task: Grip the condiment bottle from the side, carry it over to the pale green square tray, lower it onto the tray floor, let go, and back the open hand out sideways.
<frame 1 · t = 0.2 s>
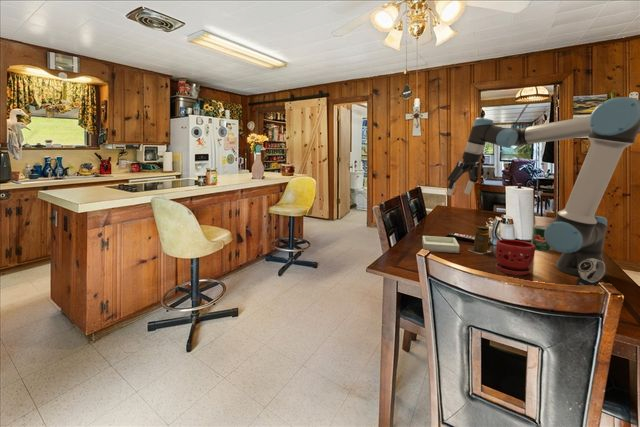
hand: (458, 194, 156), 27 cm above the table, tool tilted 15°, fingers open, 13 cm apart
canned tomato: (539, 249, 157), on the table
plant pot: (512, 271, 127), on the table
watch: (588, 290, 109), on the table
condiment: (479, 251, 153), on the table
pale green square tray: (439, 247, 160), on the table
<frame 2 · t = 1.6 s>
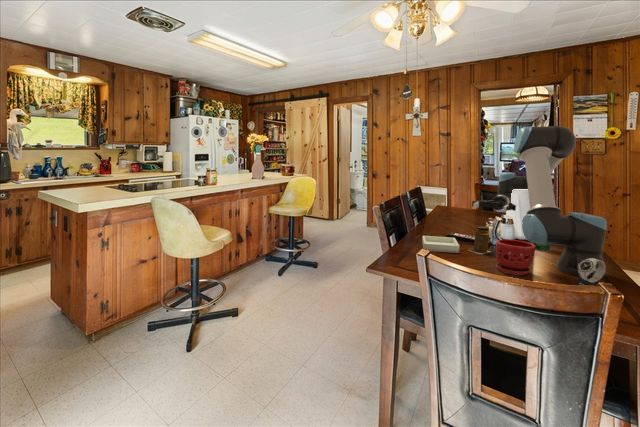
hand: (488, 207, 156), 20 cm above the table, tool horizontal, fingers open, 13 cm apart
nothing on the table moved.
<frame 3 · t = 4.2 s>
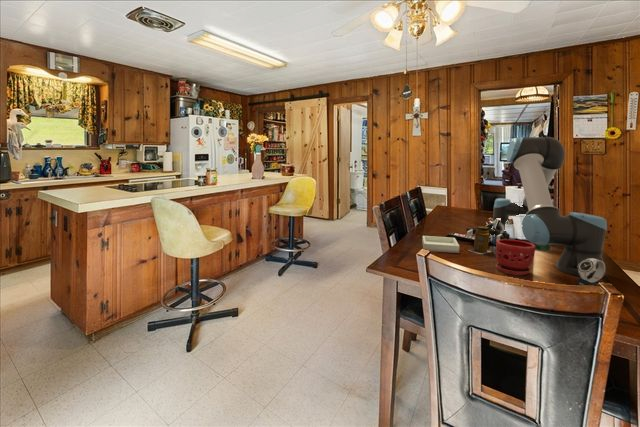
hand: (482, 236, 155), 6 cm above the table, tool horizontal, fingers open, 13 cm apart
nothing on the table moved.
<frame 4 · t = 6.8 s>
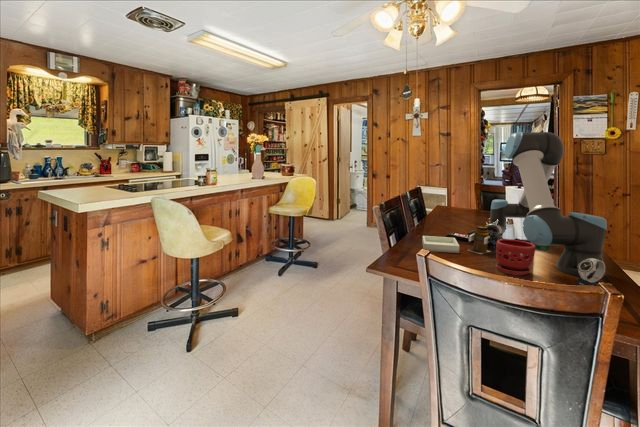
hand: (477, 239, 148), 7 cm above the table, tool horizontal, fingers closed on condiment, 6 cm apart
condiment: (478, 251, 153), on the table, touching gripper
everything else where it was.
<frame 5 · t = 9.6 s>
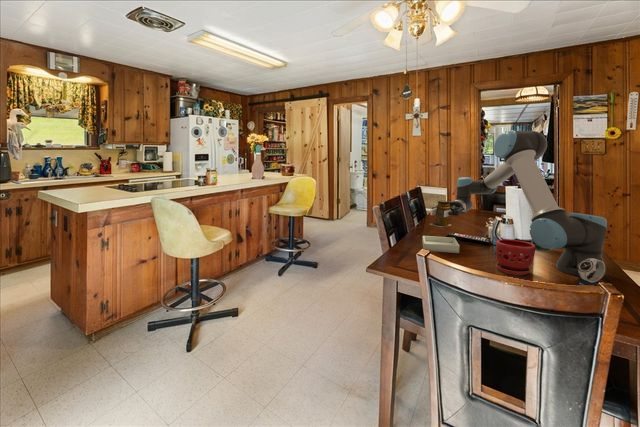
hand: (437, 213, 153), 18 cm above the table, tool horizontal, fingers closed on condiment, 6 cm apart
condiment: (440, 225, 158), point 11 cm above the table, touching gripper
everything else where it was.
when the fingers open (9 cm above the table, at t = 12.4 s): condiment drops 1 cm, resting on pale green square tray.
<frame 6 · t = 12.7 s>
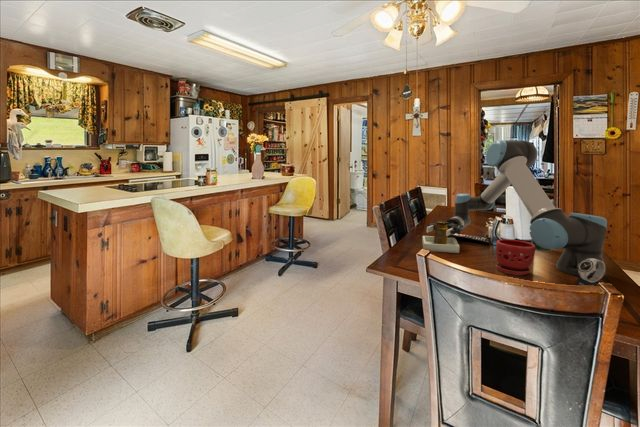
hand: (436, 231, 155), 9 cm above the table, tool horizontal, fingers open, 9 cm apart
condiment: (438, 245, 160), point 1 cm above the table, touching pale green square tray
everything else where it was.
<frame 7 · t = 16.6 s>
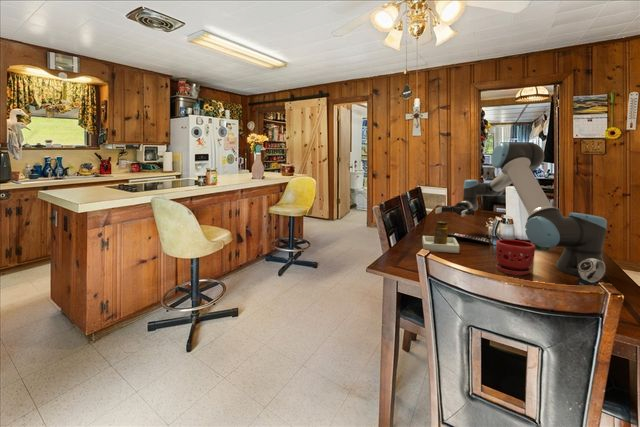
hand: (448, 212, 164), 17 cm above the table, tool horizontal, fingers open, 13 cm apart
nothing on the table moved.
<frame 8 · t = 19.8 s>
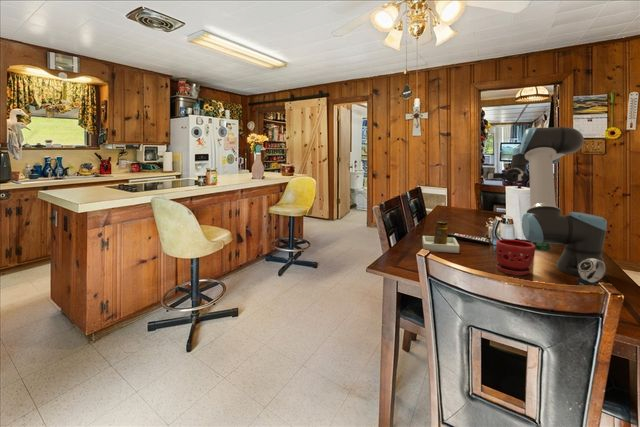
hand: (503, 177, 159), 35 cm above the table, tool horizontal, fingers open, 13 cm apart
nothing on the table moved.
at the end: condiment inside the target area on the pale green square tray (0.4 cm from its centre), point 0.8 cm above the pale green square tray's base; condiment tilted 0°; the gripper is holding nothing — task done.
